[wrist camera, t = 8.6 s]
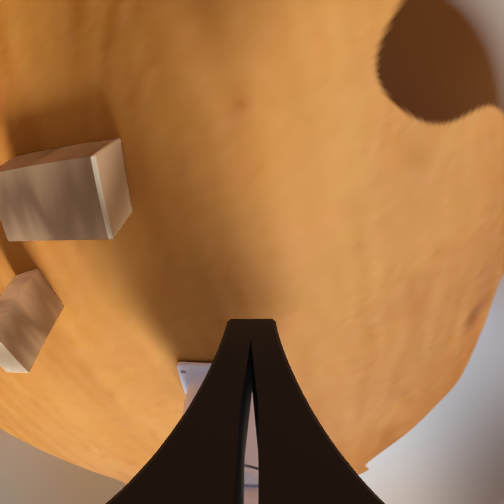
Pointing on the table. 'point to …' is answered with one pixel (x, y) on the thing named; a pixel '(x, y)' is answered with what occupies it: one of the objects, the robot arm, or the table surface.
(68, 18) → the table surface
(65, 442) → the table surface
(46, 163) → the walnut block
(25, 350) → the maple block
